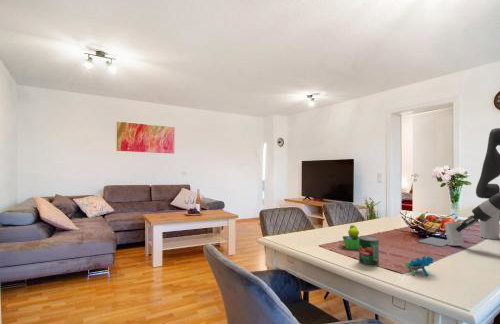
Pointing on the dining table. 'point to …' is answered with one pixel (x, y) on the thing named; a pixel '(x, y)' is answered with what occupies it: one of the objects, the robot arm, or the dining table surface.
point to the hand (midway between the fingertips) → (457, 230)
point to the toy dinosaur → (419, 264)
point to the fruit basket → (352, 238)
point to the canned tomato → (369, 250)
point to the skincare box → (454, 234)
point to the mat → (434, 241)
